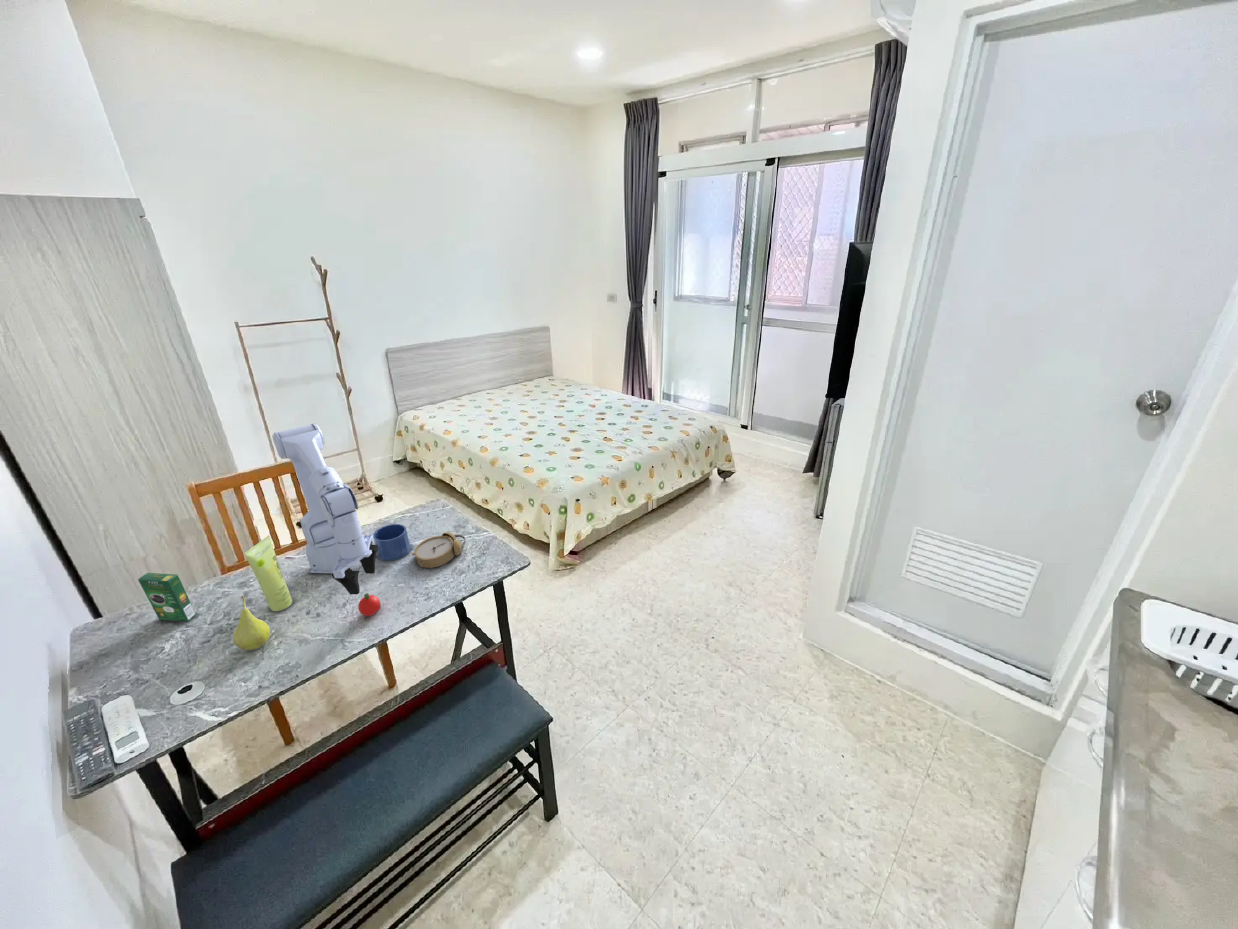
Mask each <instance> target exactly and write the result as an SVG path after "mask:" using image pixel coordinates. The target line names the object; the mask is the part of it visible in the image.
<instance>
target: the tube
mask: <svg viewBox="0 0 1238 929" xmlns="http://www.w3.org/2000/svg"><path fill="white" fill-rule="evenodd" d="M244 557H245V559H246V560H247V562H248V564H249V566H250V568H251V570H252V572H253V574H254V576H255V578H256V580H257V582H258V584H259V587H260V589H261V591H262V593H263V595H264V597H265V600H266V602H267V604H268V607H269V609H270V610H271V611H272V612H280V611H283V610H285V609H288V608H289V607H290V606H291V605H292V604H293V597H292V595H291V593H290V589H289V587H288V585H287V582H286V580H285V579H286V578H285V577H284V574H283V571H282V568H281V566H280V563H279V561H278V557H277V555H276V551H275V549H274V545H273V543H272V540H271V537H270V535H269V534H268V535H266V537H264V538H263V539H261V540H260V541H259V542H257V543H256V544H255V545H253V546H252V547H251V548H249V549H248V550H246V551H245V552H244Z"/></svg>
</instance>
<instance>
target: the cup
mask: <svg viewBox="0 0 1238 929" xmlns="http://www.w3.org/2000/svg"><path fill="white" fill-rule="evenodd" d="M372 535H373V538H374V542H373V544H374V545H378V547H379V549H378V551H377V556H378V558H379V559H380V560H382V561H387V562H388V561H396V560H399V559H401V558H404V557H406V556H407V555H408V554H409V553H410V552H411V543H410V539H409V535H408V530H407V527H406V526H405V525H404V524H400V523H390V524H386V525H384V526H381V527H379V528H378V529H376V530H375V531H374V533H373V534H372Z"/></svg>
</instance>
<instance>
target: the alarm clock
mask: <svg viewBox="0 0 1238 929" xmlns="http://www.w3.org/2000/svg"><path fill="white" fill-rule="evenodd" d="M457 538H459V539H460V538H461V539H463V542H462V543H461V541H460V540H459V539H457ZM466 543H467V541H466V537H465V536H464V535H463V534H453V532H450V531H445V532H442V534H441V535H436V536H435V535H434V536H430V537H428V538H426V539H424V540H422V541H421V542H419V544H417V545H416V547H415V548H414V551H413V553H411V556H414V557H415V559H416V562H417V565H418V566H420V567H422V568H425V569H432V568H433V569H434V568H437V567H440V566H443V565H445V564H447V563H448V562H450V561H451V560H452V559H453V558H454V557H455V556H459V555H461V554H462V552H463V549H464V548H465V545H466Z"/></svg>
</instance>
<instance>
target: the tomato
mask: <svg viewBox="0 0 1238 929" xmlns="http://www.w3.org/2000/svg"><path fill="white" fill-rule="evenodd" d="M363 596H364V597H362V598H361V599H360V601H359V602H358V611H359V613H360V614H361V615H363V616H366V617H371V616H373V615H375V614H377V613H378V612H379V611H380V609H381V604H382V603H381V600H380V599H379V597H377V595H373V594H369V593H364V595H363Z"/></svg>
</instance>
